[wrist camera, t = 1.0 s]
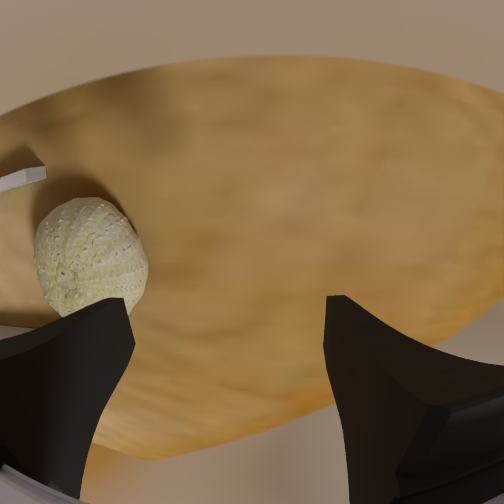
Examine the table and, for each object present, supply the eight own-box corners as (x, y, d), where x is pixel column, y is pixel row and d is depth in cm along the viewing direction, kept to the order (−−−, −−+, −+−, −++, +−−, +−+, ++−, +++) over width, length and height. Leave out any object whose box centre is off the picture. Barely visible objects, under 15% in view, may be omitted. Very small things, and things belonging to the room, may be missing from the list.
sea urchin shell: (36, 305, 20) (-11, 267, 13) (76, 225, 24) (49, 167, 17) (131, 351, 21) (107, 331, 14) (167, 261, 25) (164, 206, 18)
